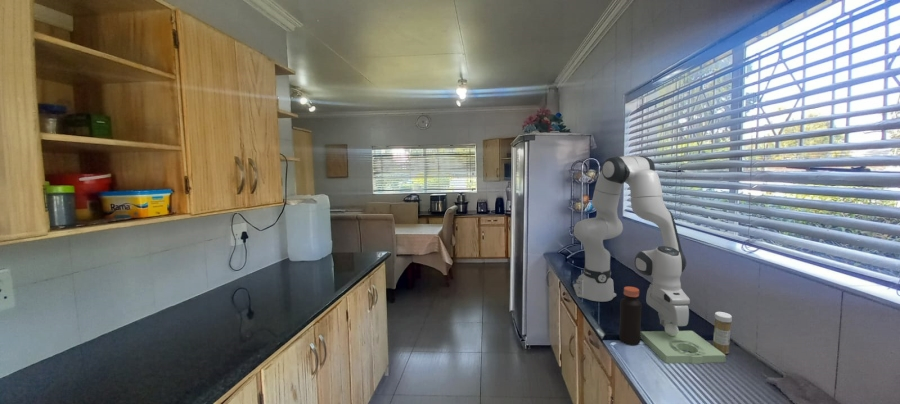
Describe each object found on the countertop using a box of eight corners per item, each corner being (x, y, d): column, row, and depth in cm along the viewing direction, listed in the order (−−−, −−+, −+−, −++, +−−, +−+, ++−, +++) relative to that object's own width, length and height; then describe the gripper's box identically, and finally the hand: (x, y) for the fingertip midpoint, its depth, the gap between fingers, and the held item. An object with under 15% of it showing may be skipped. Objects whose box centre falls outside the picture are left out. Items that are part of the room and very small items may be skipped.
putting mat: (640, 337, 127) (640, 331, 127) (691, 337, 127) (692, 330, 126) (667, 364, 111) (667, 356, 110) (726, 363, 110) (726, 356, 110)
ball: (661, 332, 126) (662, 321, 125) (673, 332, 126) (674, 321, 125) (668, 338, 122) (669, 327, 121) (681, 338, 121) (681, 326, 121)
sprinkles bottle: (716, 346, 120) (719, 310, 119) (731, 352, 116) (734, 315, 115) (709, 349, 118) (712, 312, 117) (724, 356, 114) (727, 318, 113)
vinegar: (631, 335, 129) (633, 284, 127) (644, 344, 123) (646, 291, 120) (615, 337, 128) (616, 286, 126) (627, 346, 121) (629, 293, 119)
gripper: (642, 281, 137) (641, 313, 138) (674, 302, 116) (672, 340, 118) (658, 280, 136) (656, 313, 138) (693, 301, 116) (691, 339, 118)
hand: (664, 325), depth 128 cm, fingers closed
